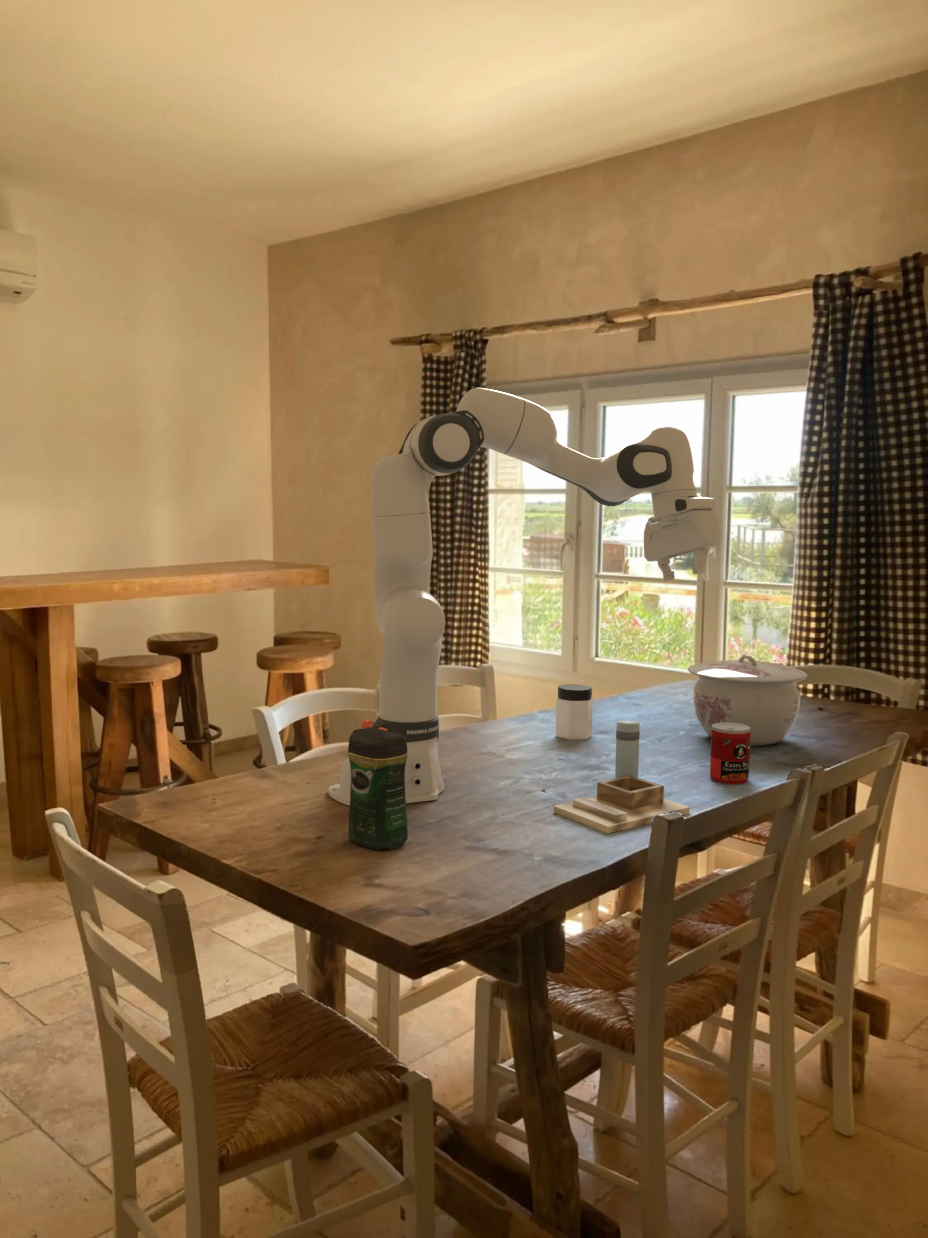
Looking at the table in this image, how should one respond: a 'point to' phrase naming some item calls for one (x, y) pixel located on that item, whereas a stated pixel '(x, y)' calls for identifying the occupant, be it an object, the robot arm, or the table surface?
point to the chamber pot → (748, 696)
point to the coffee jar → (377, 788)
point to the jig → (621, 805)
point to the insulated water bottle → (627, 748)
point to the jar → (574, 712)
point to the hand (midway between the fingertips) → (683, 577)
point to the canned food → (730, 752)
